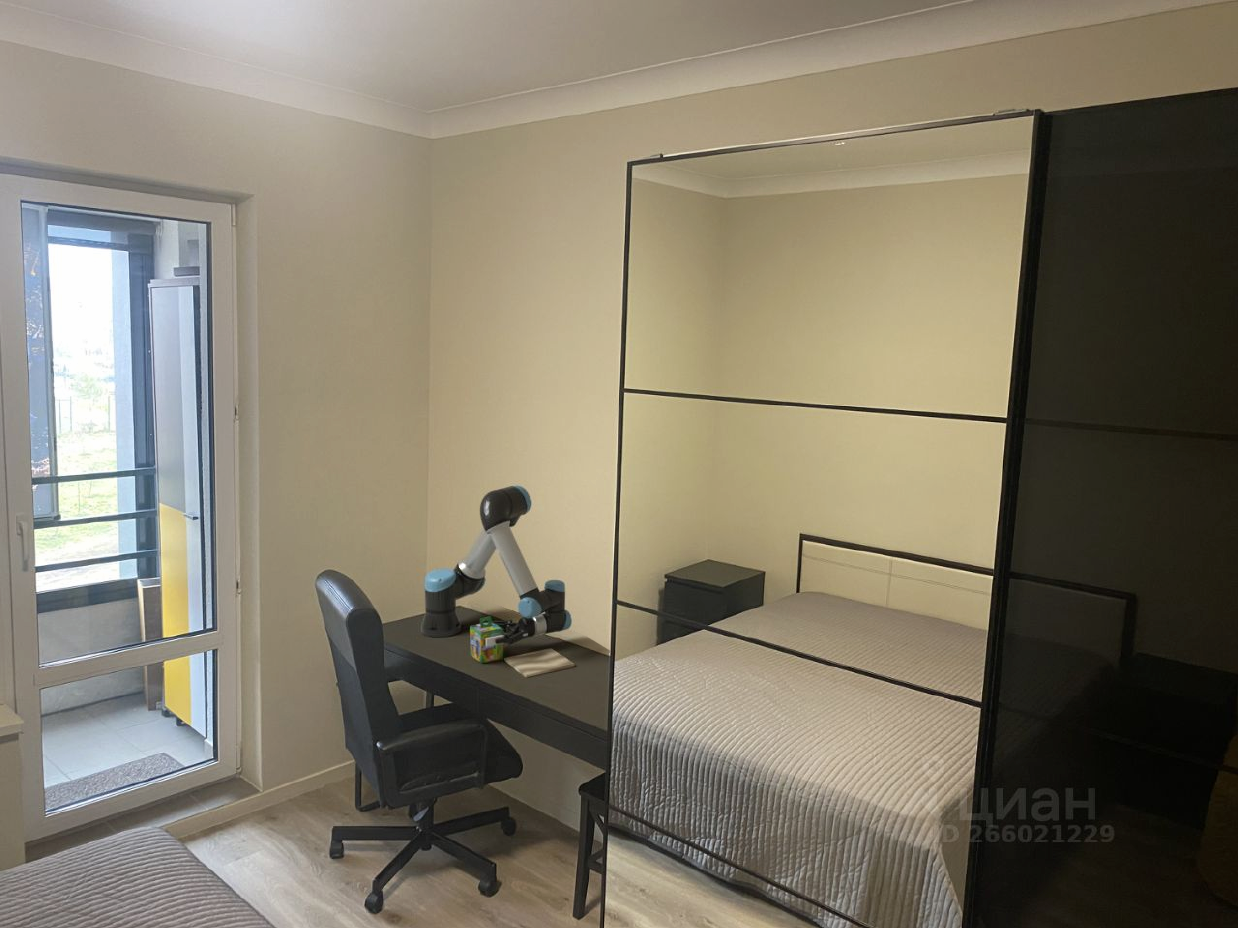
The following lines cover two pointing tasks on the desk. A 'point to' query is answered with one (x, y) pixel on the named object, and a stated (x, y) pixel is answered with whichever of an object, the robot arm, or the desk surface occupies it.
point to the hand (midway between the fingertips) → (478, 636)
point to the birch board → (538, 662)
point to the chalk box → (479, 641)
